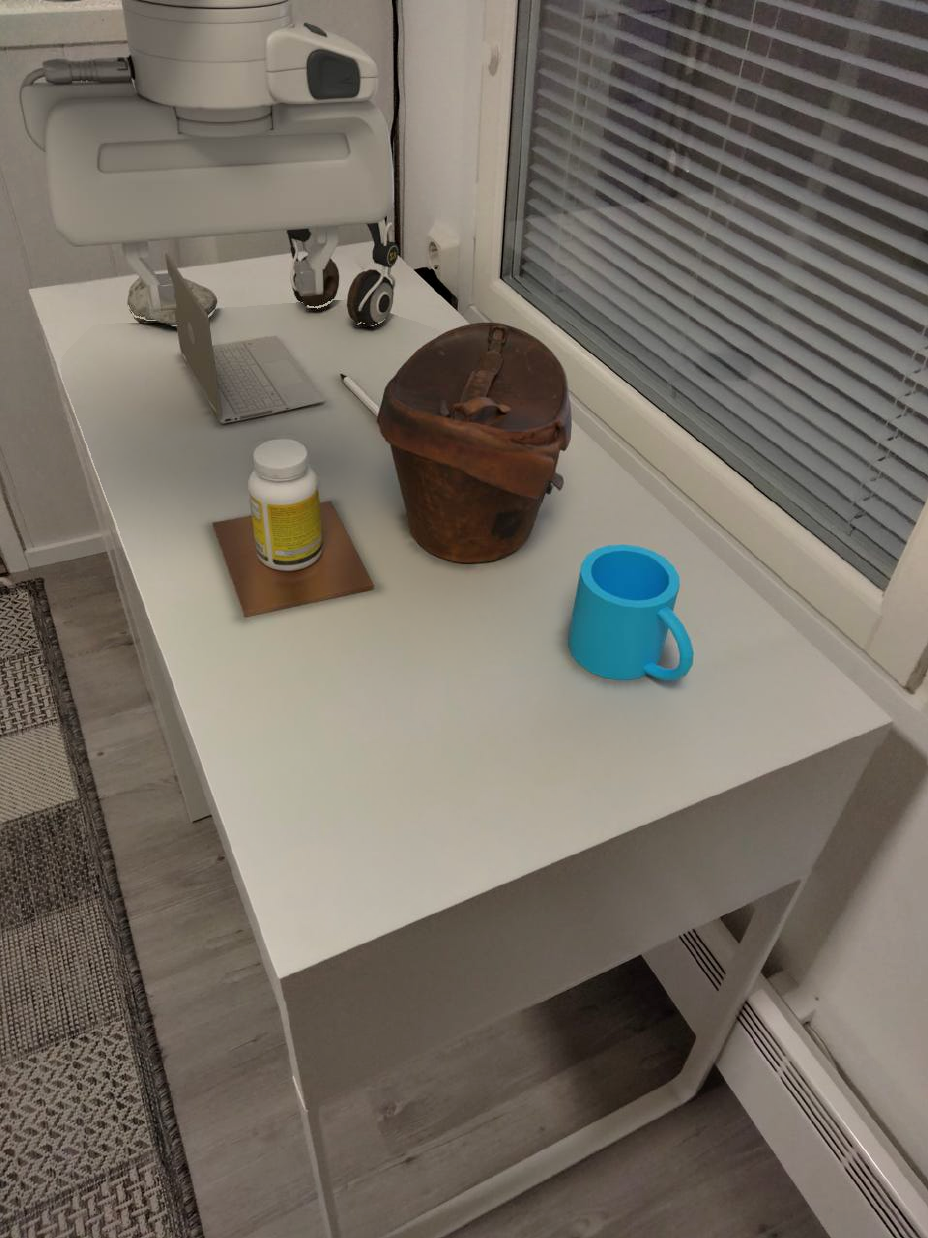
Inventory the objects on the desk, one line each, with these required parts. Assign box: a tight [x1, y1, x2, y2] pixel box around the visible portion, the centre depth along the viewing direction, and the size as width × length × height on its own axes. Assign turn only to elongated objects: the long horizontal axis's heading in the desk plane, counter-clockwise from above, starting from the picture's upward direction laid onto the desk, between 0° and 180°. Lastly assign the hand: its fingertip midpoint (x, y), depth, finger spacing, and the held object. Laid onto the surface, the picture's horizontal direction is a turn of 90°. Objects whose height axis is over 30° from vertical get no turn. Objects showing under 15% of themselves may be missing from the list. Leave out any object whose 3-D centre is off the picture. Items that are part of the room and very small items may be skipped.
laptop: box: [165, 253, 325, 424], centre depth 110 cm, size 18×12×13 cm
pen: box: [339, 373, 380, 417], centre depth 110 cm, size 1×19×1 cm, turn 30°
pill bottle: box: [247, 438, 322, 571], centre depth 86 cm, size 6×6×11 cm
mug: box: [567, 544, 695, 681], centre depth 79 cm, size 12×8×8 cm
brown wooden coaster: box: [211, 500, 375, 618], centre depth 90 cm, size 12×14×1 cm
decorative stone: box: [126, 276, 218, 328], centre depth 125 cm, size 12×11×5 cm
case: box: [376, 322, 573, 564], centre depth 89 cm, size 18×20×18 cm
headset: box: [286, 219, 399, 328], centre depth 123 cm, size 17×8×20 cm, turn 59°
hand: (238, 299), depth 61 cm, fingers open, 8 cm apart
